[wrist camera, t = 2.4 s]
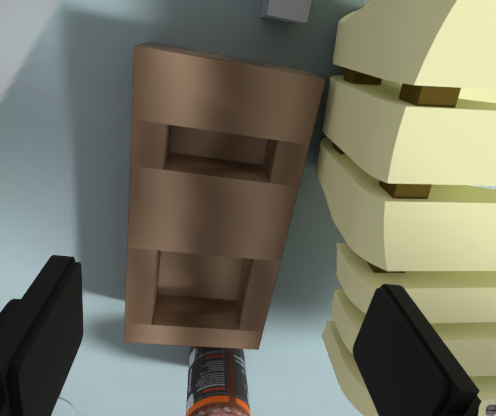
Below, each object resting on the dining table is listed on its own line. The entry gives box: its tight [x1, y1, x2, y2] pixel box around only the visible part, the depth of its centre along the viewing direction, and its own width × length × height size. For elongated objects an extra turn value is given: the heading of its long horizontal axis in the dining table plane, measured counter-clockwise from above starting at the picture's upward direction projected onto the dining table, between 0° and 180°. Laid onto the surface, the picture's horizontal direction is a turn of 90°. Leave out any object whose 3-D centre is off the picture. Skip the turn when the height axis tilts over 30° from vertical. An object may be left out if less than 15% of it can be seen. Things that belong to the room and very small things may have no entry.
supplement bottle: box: [186, 346, 250, 416], centre depth 35 cm, size 6×6×11 cm
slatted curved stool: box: [316, 0, 496, 416], centre depth 22 cm, size 30×16×18 cm, turn 177°
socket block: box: [124, 43, 326, 350], centre depth 30 cm, size 12×24×5 cm, turn 170°
